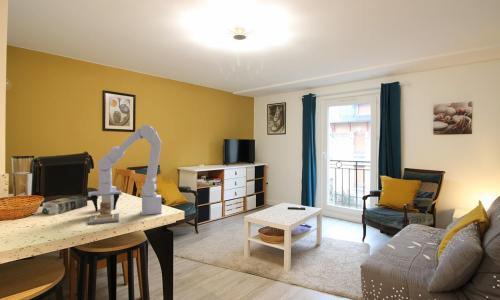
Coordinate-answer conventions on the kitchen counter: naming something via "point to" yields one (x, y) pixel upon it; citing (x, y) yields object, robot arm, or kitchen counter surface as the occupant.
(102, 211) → the tan wooden block
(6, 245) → the kitchen counter surface
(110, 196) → the skincare box
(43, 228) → the kitchen counter surface
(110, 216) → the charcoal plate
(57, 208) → the juice carton
